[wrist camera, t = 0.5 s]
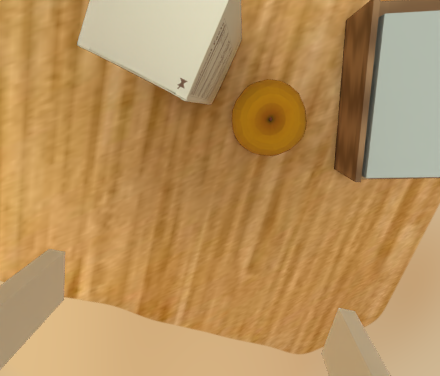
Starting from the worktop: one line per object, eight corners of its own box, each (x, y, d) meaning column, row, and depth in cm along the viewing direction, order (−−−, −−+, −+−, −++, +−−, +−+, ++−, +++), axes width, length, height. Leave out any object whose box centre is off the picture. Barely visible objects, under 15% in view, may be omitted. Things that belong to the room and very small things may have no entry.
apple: (310, 119, 36) (332, 123, 28) (261, 163, 39) (267, 178, 30) (268, 69, 35) (277, 56, 27) (219, 116, 37) (213, 119, 29)
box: (346, 20, 33) (374, -3, 26) (452, 14, 32) (510, -12, 25) (334, 168, 38) (355, 182, 31) (426, 166, 37) (469, 180, 30)
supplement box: (244, 37, 34) (248, -27, 18) (212, 107, 37) (190, 105, 21) (174, -1, 34) (114, -101, 18) (146, 73, 36) (71, 44, 20)
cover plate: (377, 18, 28) (384, 13, 26) (484, 12, 27) (498, 7, 26) (360, 175, 32) (366, 178, 31) (452, 173, 31) (462, 176, 30)
